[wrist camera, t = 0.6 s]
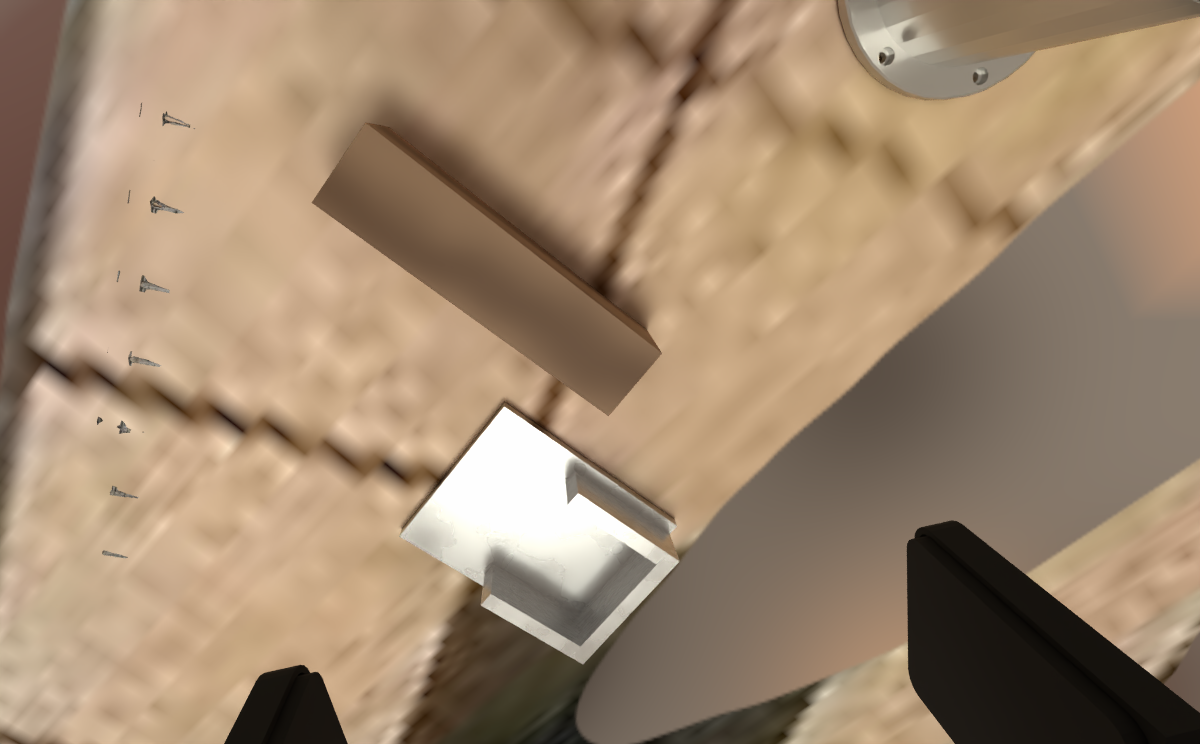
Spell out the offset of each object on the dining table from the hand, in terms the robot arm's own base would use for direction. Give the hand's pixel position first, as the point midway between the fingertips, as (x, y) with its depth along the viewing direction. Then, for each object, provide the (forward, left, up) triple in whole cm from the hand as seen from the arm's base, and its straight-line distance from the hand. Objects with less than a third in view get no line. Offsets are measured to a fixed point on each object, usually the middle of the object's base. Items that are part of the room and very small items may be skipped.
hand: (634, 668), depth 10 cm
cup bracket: (+13, +8, -29) cm, 33 cm away
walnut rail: (+1, -4, -29) cm, 29 cm away
